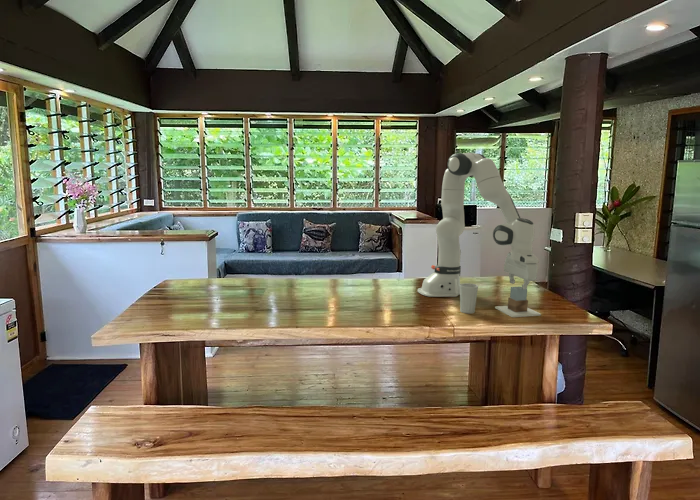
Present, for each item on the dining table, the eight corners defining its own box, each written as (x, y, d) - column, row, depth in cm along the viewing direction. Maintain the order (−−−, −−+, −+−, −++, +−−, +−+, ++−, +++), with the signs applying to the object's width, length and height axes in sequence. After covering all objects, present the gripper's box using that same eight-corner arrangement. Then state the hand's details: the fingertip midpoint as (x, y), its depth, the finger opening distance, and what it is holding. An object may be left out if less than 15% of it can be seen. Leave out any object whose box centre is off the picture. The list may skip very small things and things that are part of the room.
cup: (473, 315, 209) (475, 288, 207) (455, 311, 213) (457, 285, 211) (478, 310, 215) (480, 284, 213) (461, 307, 220) (463, 282, 218)
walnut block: (515, 312, 211) (516, 301, 210) (507, 308, 217) (508, 297, 216) (527, 311, 213) (528, 300, 212) (519, 307, 218) (520, 296, 217)
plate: (512, 317, 206) (512, 315, 206) (495, 308, 220) (495, 306, 220) (540, 315, 210) (540, 313, 210) (521, 306, 223) (522, 304, 223)
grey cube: (516, 300, 211) (517, 289, 210) (510, 297, 216) (510, 287, 215) (526, 300, 212) (527, 289, 211) (519, 297, 217) (520, 286, 216)
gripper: (502, 251, 220) (499, 280, 222) (528, 260, 200) (525, 292, 203) (514, 251, 221) (511, 280, 224) (541, 260, 202) (538, 291, 204)
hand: (518, 286), depth 213 cm, fingers open, 8 cm apart
